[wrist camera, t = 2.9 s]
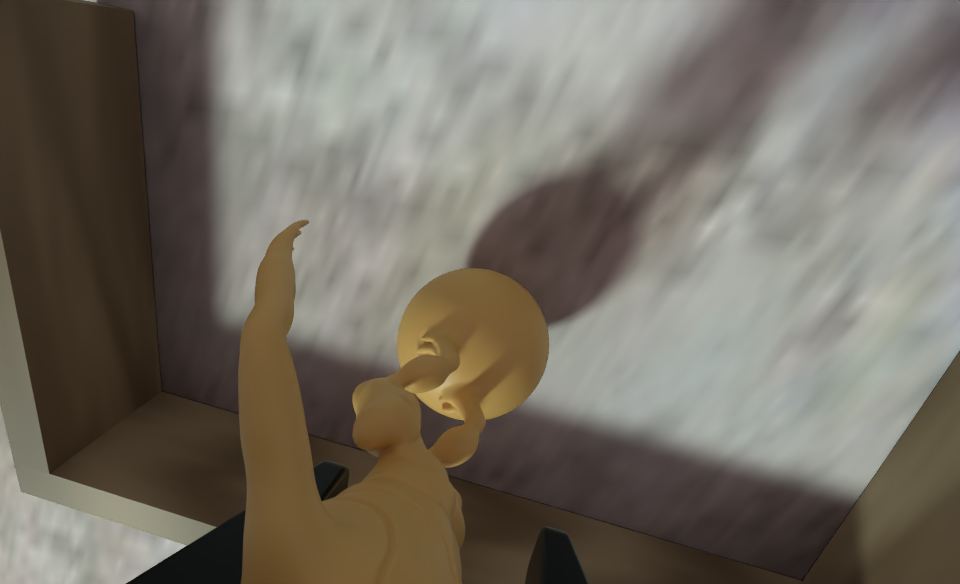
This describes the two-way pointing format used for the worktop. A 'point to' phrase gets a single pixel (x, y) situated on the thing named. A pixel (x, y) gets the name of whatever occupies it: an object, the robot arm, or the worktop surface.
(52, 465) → the three-sided wooden wall
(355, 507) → the figurine
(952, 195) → the worktop surface
